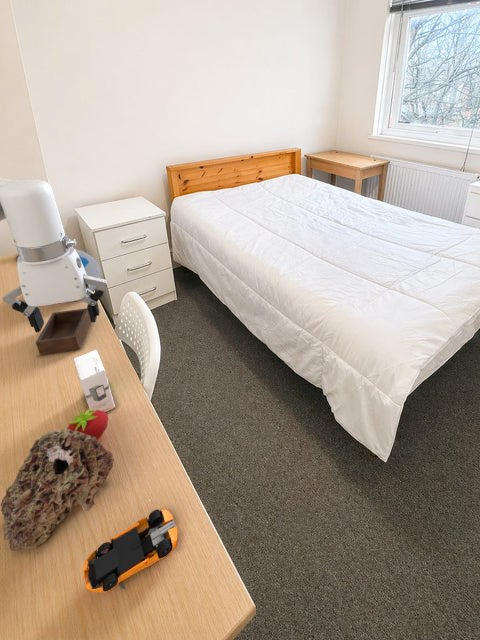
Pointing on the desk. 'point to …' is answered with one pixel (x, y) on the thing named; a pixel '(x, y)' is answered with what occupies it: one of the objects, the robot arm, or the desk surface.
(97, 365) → the ink box
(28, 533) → the coral
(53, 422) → the desk surface
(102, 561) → the toy car
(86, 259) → the grey round disc
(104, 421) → the strawberry
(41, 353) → the holder
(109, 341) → the desk surface
